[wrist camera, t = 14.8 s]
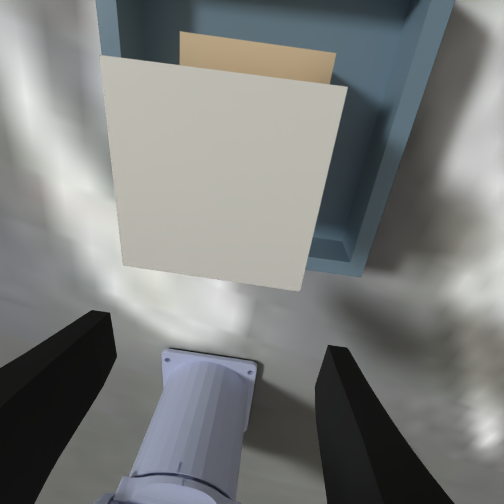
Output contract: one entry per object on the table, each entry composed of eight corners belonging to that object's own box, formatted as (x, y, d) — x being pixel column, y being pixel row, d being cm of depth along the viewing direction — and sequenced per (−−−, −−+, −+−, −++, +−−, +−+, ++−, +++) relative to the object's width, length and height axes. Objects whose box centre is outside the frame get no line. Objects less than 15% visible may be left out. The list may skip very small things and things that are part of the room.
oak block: (294, 189, 17) (298, 226, 12) (206, 176, 17) (178, 208, 13) (320, 63, 14) (336, 53, 10) (212, 48, 14) (179, 31, 10)
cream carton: (293, 201, 12) (299, 291, 7) (193, 187, 12) (122, 265, 7) (314, 86, 10) (348, 87, 5) (195, 71, 10) (99, 54, 5)
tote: (348, 246, 19) (361, 277, 16) (148, 219, 20) (123, 244, 17) (428, -20, 13) (472, -53, 10) (130, -53, 13) (84, -94, 10)
